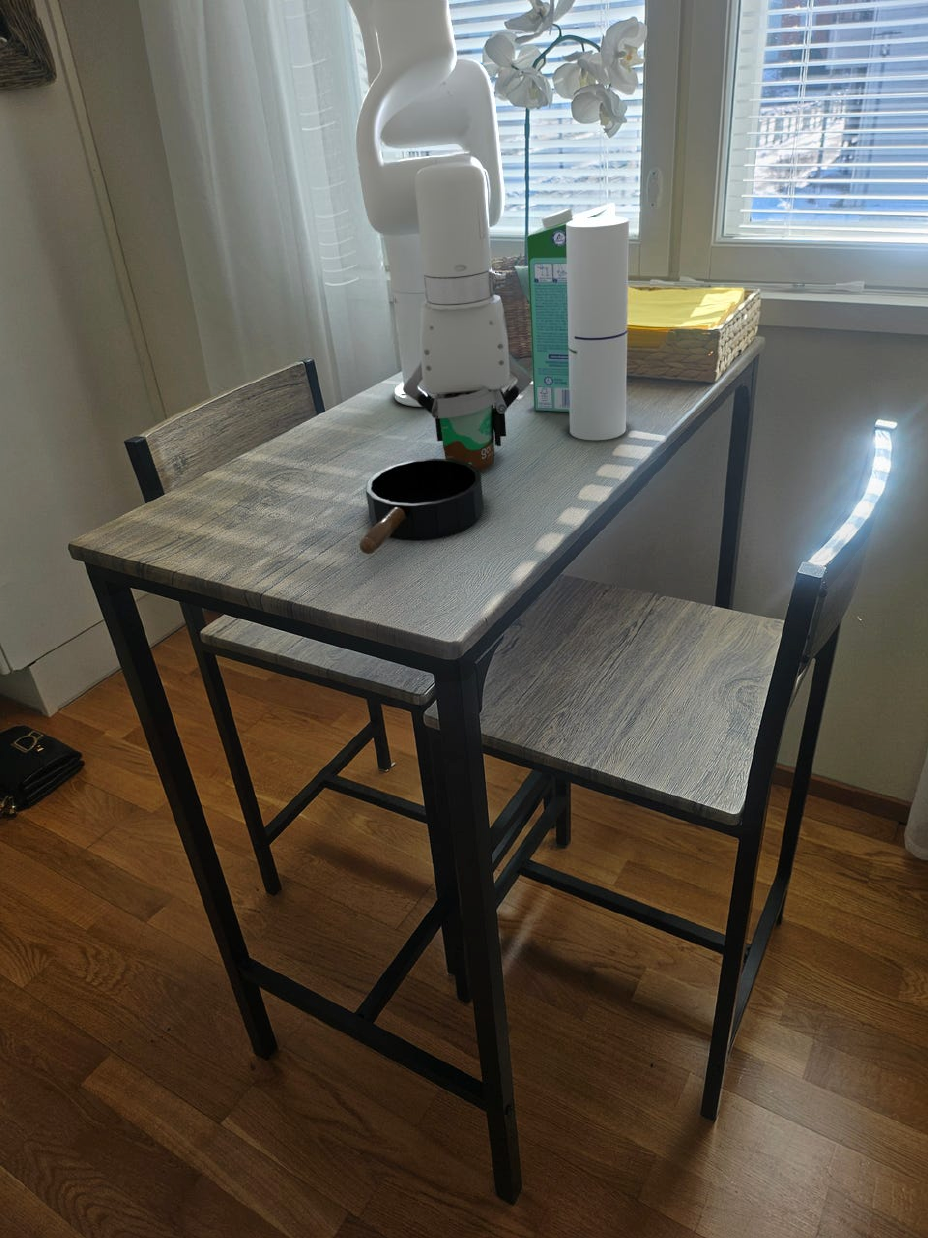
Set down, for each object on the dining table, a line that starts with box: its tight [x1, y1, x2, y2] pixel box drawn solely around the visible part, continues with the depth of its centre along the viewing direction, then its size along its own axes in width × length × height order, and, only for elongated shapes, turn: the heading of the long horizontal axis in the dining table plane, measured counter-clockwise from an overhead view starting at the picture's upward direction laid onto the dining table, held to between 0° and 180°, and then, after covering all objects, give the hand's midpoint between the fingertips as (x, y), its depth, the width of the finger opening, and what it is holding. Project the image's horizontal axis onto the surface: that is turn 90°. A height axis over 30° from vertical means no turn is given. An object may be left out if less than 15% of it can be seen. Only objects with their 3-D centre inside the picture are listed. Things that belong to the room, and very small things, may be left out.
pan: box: [359, 458, 485, 555], centre depth 92 cm, size 21×12×4 cm, turn 159°
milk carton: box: [526, 203, 615, 413], centre depth 118 cm, size 9×9×25 cm
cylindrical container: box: [566, 215, 630, 441], centre depth 107 cm, size 7×7×25 cm
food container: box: [437, 387, 496, 473], centre depth 106 cm, size 12×6×10 cm, turn 171°
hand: (472, 442), depth 107 cm, fingers closed on food container, 5 cm apart
